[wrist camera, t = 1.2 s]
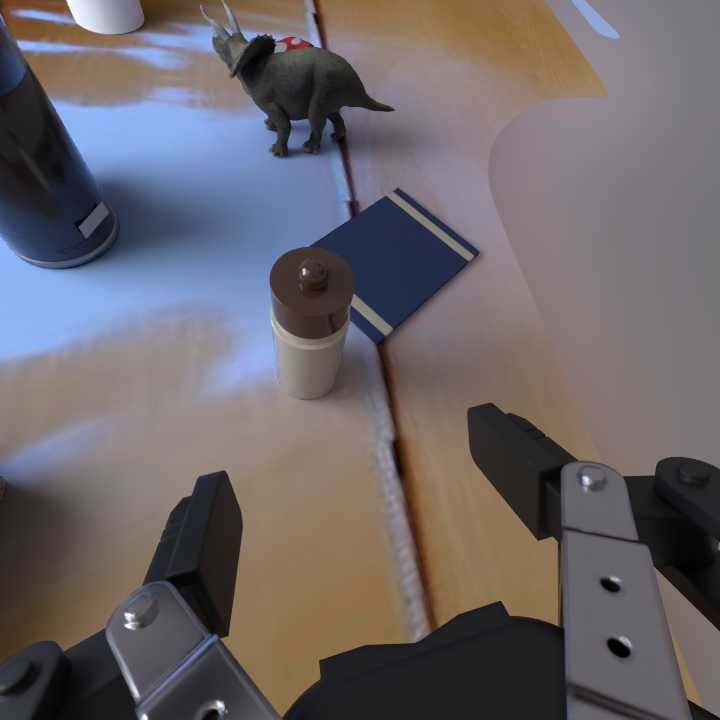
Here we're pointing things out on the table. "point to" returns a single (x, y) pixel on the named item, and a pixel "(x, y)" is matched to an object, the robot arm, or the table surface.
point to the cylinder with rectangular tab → (107, 15)
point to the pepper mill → (310, 319)
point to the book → (395, 260)
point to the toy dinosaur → (291, 83)
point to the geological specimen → (2, 487)
